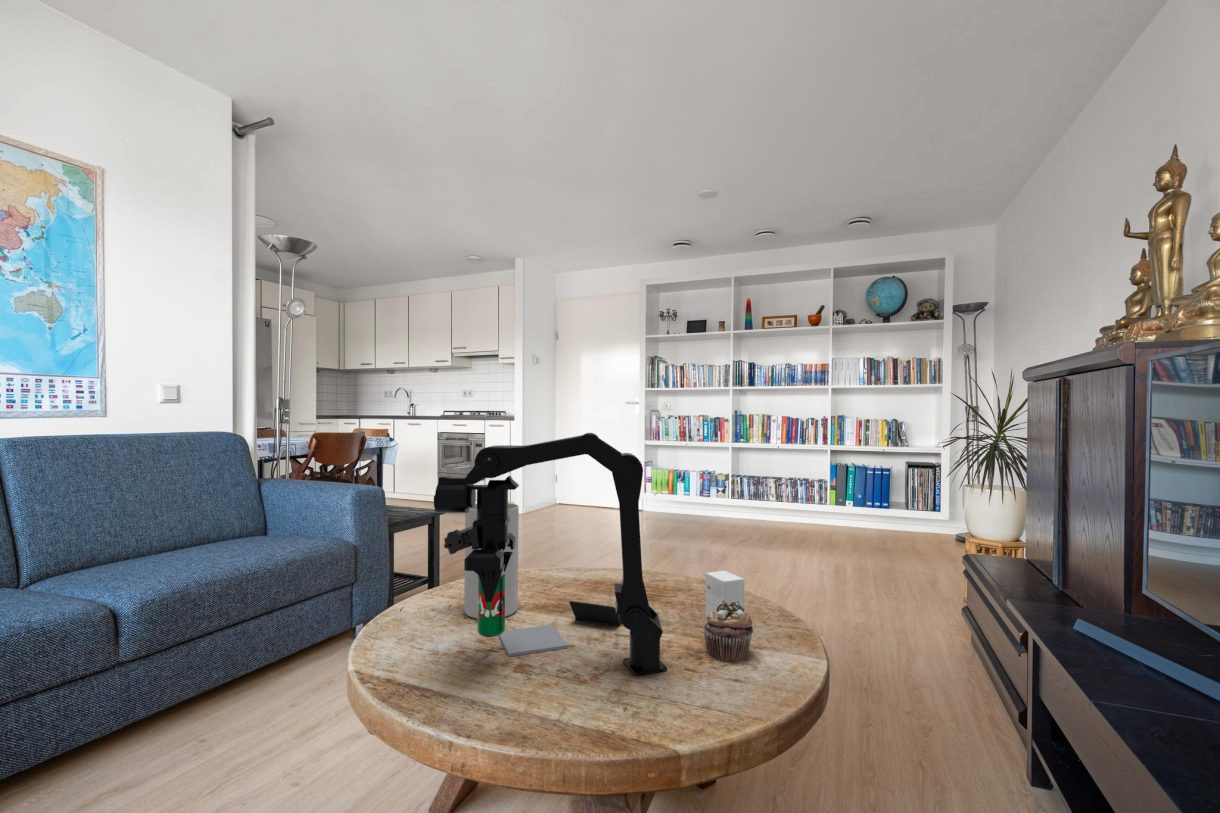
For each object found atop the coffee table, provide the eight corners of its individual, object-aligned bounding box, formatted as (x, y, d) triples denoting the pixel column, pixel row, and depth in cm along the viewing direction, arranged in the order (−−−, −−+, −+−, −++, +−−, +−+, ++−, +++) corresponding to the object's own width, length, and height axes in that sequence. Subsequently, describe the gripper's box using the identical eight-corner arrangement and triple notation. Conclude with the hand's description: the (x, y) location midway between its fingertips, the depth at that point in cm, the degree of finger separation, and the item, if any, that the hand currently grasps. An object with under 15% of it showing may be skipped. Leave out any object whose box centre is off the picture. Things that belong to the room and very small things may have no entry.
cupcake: (740, 642, 118) (741, 593, 118) (760, 662, 108) (760, 609, 108) (696, 644, 116) (696, 595, 116) (712, 665, 107) (712, 611, 107)
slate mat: (568, 648, 114) (568, 645, 114) (508, 656, 110) (508, 653, 110) (552, 627, 125) (552, 624, 125) (497, 634, 121) (497, 631, 121)
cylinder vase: (511, 600, 143) (512, 501, 144) (522, 616, 132) (523, 509, 132) (461, 605, 139) (462, 503, 139) (467, 623, 127) (469, 511, 128)
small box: (745, 626, 127) (745, 578, 127) (723, 629, 125) (724, 581, 125) (725, 614, 134) (725, 569, 134) (704, 617, 132) (705, 572, 132)
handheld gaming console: (628, 608, 134) (619, 582, 128) (627, 636, 128) (617, 610, 122) (582, 611, 136) (570, 586, 130) (578, 639, 130) (566, 613, 125)
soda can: (506, 627, 108) (507, 564, 108) (502, 638, 103) (503, 572, 103) (480, 627, 108) (480, 564, 108) (474, 638, 103) (475, 572, 103)
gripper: (461, 505, 115) (460, 582, 115) (434, 522, 97) (433, 614, 96) (516, 505, 115) (515, 582, 115) (500, 522, 97) (499, 614, 96)
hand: (491, 596), depth 106 cm, fingers closed on soda can, 5 cm apart
